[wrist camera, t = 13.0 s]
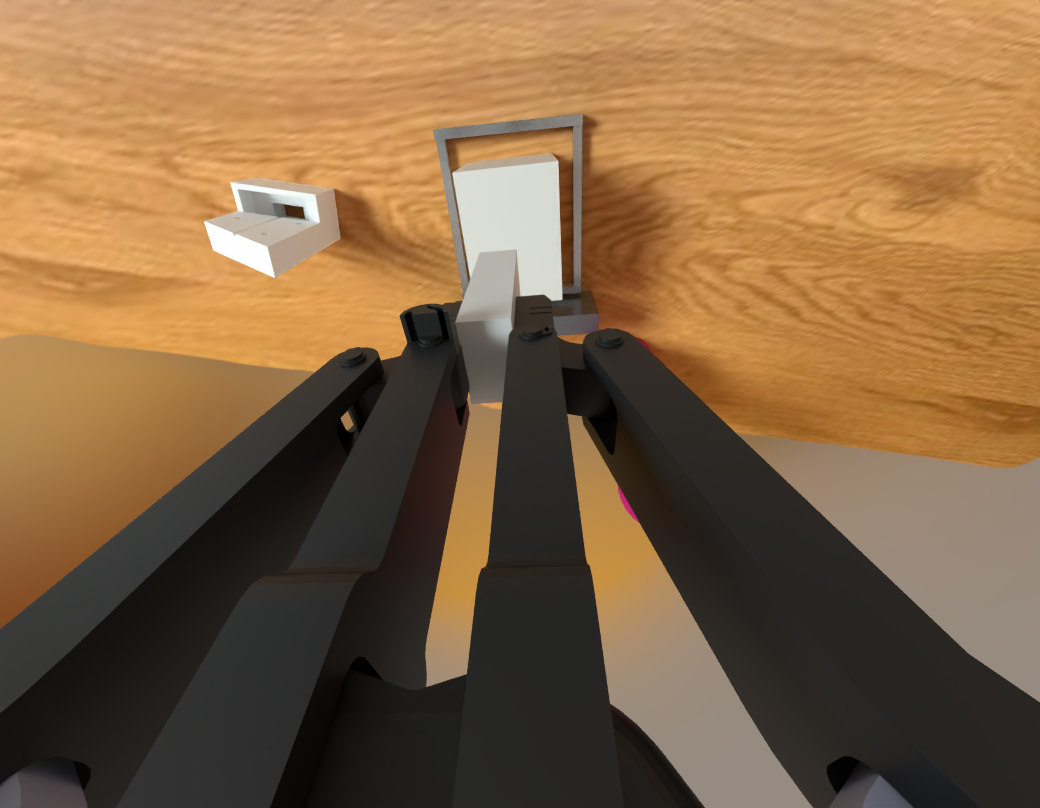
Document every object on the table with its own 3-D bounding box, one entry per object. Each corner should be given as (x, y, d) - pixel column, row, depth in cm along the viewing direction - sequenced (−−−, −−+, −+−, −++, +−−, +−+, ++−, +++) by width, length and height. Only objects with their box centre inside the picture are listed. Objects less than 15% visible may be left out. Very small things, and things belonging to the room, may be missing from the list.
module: (469, 162, 28) (452, 172, 22) (551, 153, 28) (558, 160, 21) (486, 273, 33) (475, 309, 26) (555, 267, 32) (562, 302, 26)
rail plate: (423, 130, 27) (404, 131, 23) (594, 112, 26) (606, 110, 22) (458, 317, 35) (449, 342, 31) (590, 308, 34) (598, 332, 30)
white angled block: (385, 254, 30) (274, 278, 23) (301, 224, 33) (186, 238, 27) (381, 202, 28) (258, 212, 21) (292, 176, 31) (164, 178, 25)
